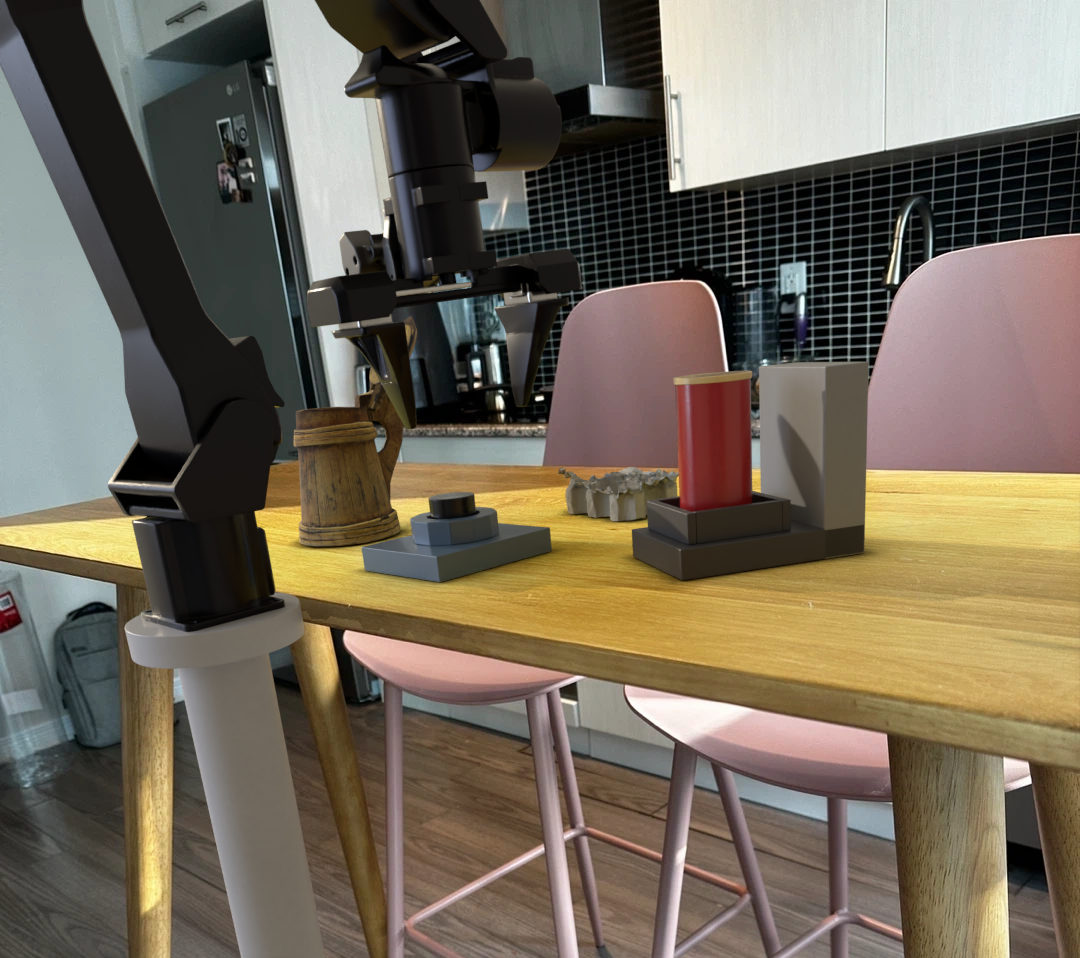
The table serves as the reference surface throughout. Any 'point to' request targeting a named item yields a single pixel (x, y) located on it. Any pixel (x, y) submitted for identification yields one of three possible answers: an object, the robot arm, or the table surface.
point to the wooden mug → (349, 467)
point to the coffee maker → (780, 483)
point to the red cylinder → (714, 439)
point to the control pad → (455, 546)
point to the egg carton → (618, 493)
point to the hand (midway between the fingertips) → (467, 417)
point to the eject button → (452, 505)
